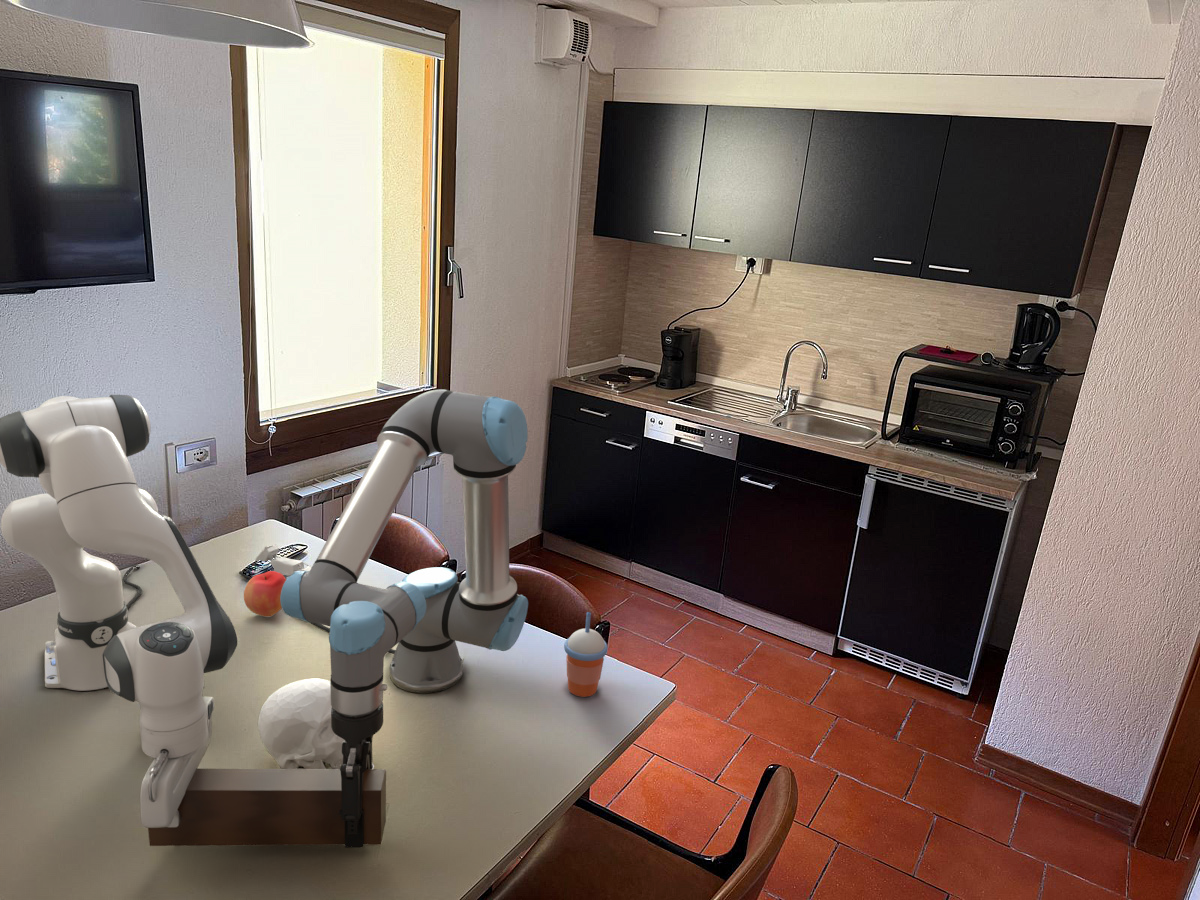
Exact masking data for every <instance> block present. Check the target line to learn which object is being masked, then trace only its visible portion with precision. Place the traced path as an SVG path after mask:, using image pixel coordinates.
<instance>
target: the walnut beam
mask: <svg viewBox="0 0 1200 900" xmlns="http://www.w3.org/2000/svg"><path fill="white" fill-rule="evenodd" d="M340 809H342V789H341V771H340V769H338V768H337V769H333V768H326V769H305V768H297V769H281V768H197V769H196V771H195V773H194V775H193V777H192V779H191V781H190V783H189V785H188V787H187V789H186V792H185V795H184V797H183V799H182V801H181V803H180V805H179V807H178V809H177V810H178V811H181V821H180V823H179V825H178V826H177V827H162V828H147V832H148V843H149V846H150V847H190V846H191V847H192V846H195V847H196V846H199V847H200V846H201V847H202V846H203V847H204V846H205V847H206V846H208V847H209V846H211V847H212V846H213V847H214V846H215V847H216V846H219V847H220V846H345V821H342V818H341V816H339V812H340ZM362 809H364V845H365V846H367V845H371V846H372V845H373V846H374V845H375V846H376V845H377V846H379V845H382V842H383V837H384V832H385V827H386V822H387V816H386V814H387V813H386V812H387V769H386V768H379V769H378V768H374V769H366V771H365V772H364V775H363V797H362ZM364 845H363V846H364Z"/></svg>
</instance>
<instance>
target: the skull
mask: <svg viewBox="0 0 1200 900" xmlns="http://www.w3.org/2000/svg"><path fill="white" fill-rule="evenodd" d="M331 707H332V706H331V697H330V680H328V679H325V678H321V677H320V678H318V677H312V678H311V677H310V678H304V679H300V680H296V681H293V682H290V683H289V682H288V683H287V684H285V685H283V686H282V687H280V688H277V689H276V690H275V691H274V692H272V693H271V694H269V695H268V697H267V699H266V700H265V701H264V703H263V704H262V706H261V709H260V710H259V715H258V723H257V725H258V734H259V739H260V741H261V743H262V745H263V746H264V748H265V749H266V751H267V752H268V753H269V755H270V756H271V757H272V759H273V760H275V762H276V763H277V764H278V766H279V768H280V769H299V767H303V769H327V768H326V766H325V764H324V763H326V764H328V765H330V768H331V769H340V767H341V765H343V754H342V742H343V741H345V740H344V739H342V738H341V737H339V736H337V735H336V734H335V733H334V732H333V730H332V728H331ZM372 765H373V769H375V764H374V763H373V762H372Z"/></svg>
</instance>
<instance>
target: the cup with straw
mask: <svg viewBox="0 0 1200 900" xmlns="http://www.w3.org/2000/svg"><path fill="white" fill-rule="evenodd" d="M591 616H592V613H591V611H587V612H586V617H585V628H580V629H577V630H575V631H574V632H573V633H572V634H571V635H570V636H569V637H568V638H567V639H566V640H565V641H564V645H563V650H564V652H565V653H566V655H565V656H566V660H565V661H566V678H567V690H568V691H569V692H570V693H571V694H572V695H573V696H576V697H582V698H586V697H591V696H594V695H595V694H596V693H597V691H598V687H599V681H600V680H601V676H602V671H603V666H604V661H605V658H604V657H605V656H606V655H607V654H608V651H609V649H608V644H607V642H606V640H604V637H602V635H601V634H600V633H599V632H598V631H596V630H595V629H592V628H591V618H592V617H591Z"/></svg>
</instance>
